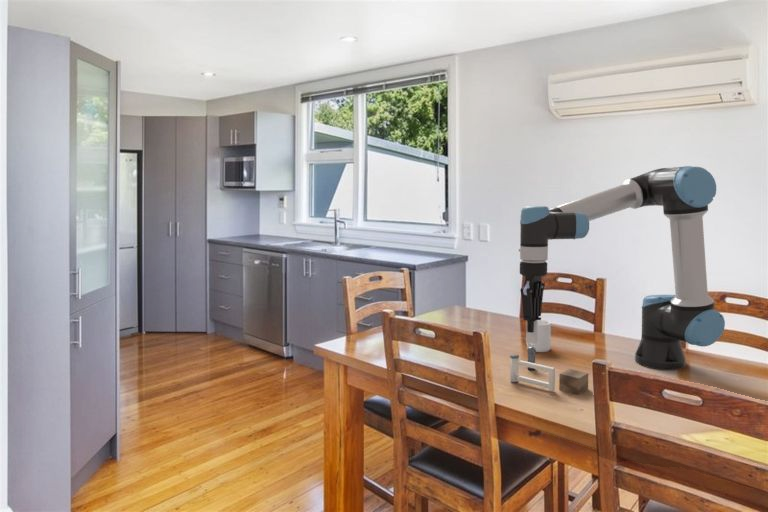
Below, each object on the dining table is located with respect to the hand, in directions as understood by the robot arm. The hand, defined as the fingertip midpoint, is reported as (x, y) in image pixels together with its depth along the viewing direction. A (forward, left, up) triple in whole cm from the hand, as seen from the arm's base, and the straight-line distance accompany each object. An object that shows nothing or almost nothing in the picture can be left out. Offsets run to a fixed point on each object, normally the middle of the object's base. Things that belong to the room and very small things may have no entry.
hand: (531, 342), depth 156 cm
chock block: (-8, -11, -15) cm, 20 cm away
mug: (+20, -39, -16) cm, 47 cm away
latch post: (+11, -19, -15) cm, 27 cm away
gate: (+3, -5, -15) cm, 16 cm away
